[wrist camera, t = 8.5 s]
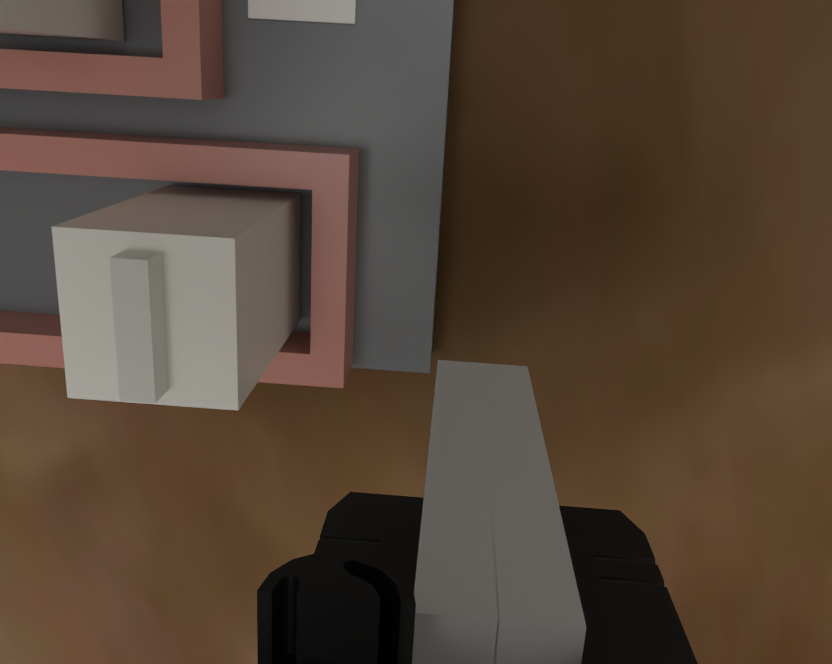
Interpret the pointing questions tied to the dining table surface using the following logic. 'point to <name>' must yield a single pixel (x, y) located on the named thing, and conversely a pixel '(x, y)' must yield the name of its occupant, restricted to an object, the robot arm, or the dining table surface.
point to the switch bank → (243, 157)
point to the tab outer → (178, 295)
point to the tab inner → (63, 19)
